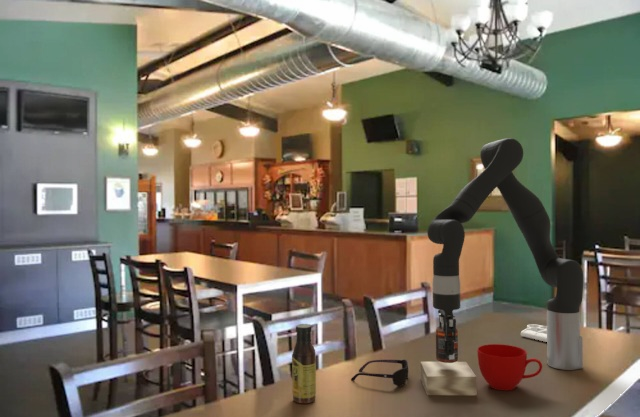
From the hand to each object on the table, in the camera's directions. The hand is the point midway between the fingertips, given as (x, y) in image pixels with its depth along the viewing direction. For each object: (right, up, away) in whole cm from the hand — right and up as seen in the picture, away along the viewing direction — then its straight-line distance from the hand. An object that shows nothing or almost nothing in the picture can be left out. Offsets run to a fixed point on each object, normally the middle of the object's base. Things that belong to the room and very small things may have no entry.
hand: (447, 351), depth 145 cm
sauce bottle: (-39, -11, -9) cm, 42 cm away
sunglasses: (-18, -11, +8) cm, 22 cm away
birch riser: (0, -10, 0) cm, 10 cm away
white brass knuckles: (+50, -9, +50) cm, 71 cm away
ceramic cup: (+17, -10, -1) cm, 20 cm away
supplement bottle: (0, -3, 0) cm, 3 cm away
